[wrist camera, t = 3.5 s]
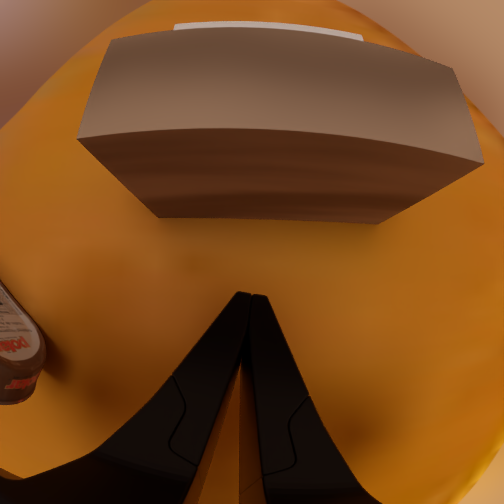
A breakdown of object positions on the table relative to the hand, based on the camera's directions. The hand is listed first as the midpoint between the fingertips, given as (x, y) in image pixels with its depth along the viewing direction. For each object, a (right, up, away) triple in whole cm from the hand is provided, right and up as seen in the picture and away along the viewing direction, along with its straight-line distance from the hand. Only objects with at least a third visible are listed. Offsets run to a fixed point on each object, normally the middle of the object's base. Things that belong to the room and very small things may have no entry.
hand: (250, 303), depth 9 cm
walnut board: (+1, +5, +8) cm, 9 cm away
